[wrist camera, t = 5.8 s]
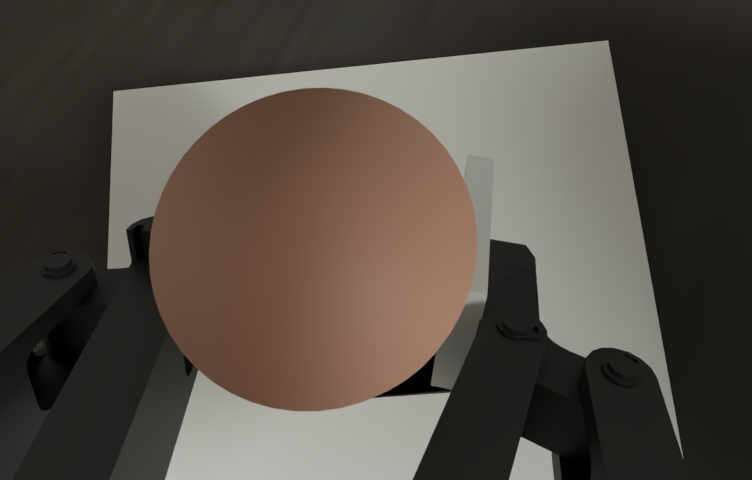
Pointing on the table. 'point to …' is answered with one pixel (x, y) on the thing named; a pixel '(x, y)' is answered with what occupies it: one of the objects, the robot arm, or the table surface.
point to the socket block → (508, 223)
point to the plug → (313, 249)
